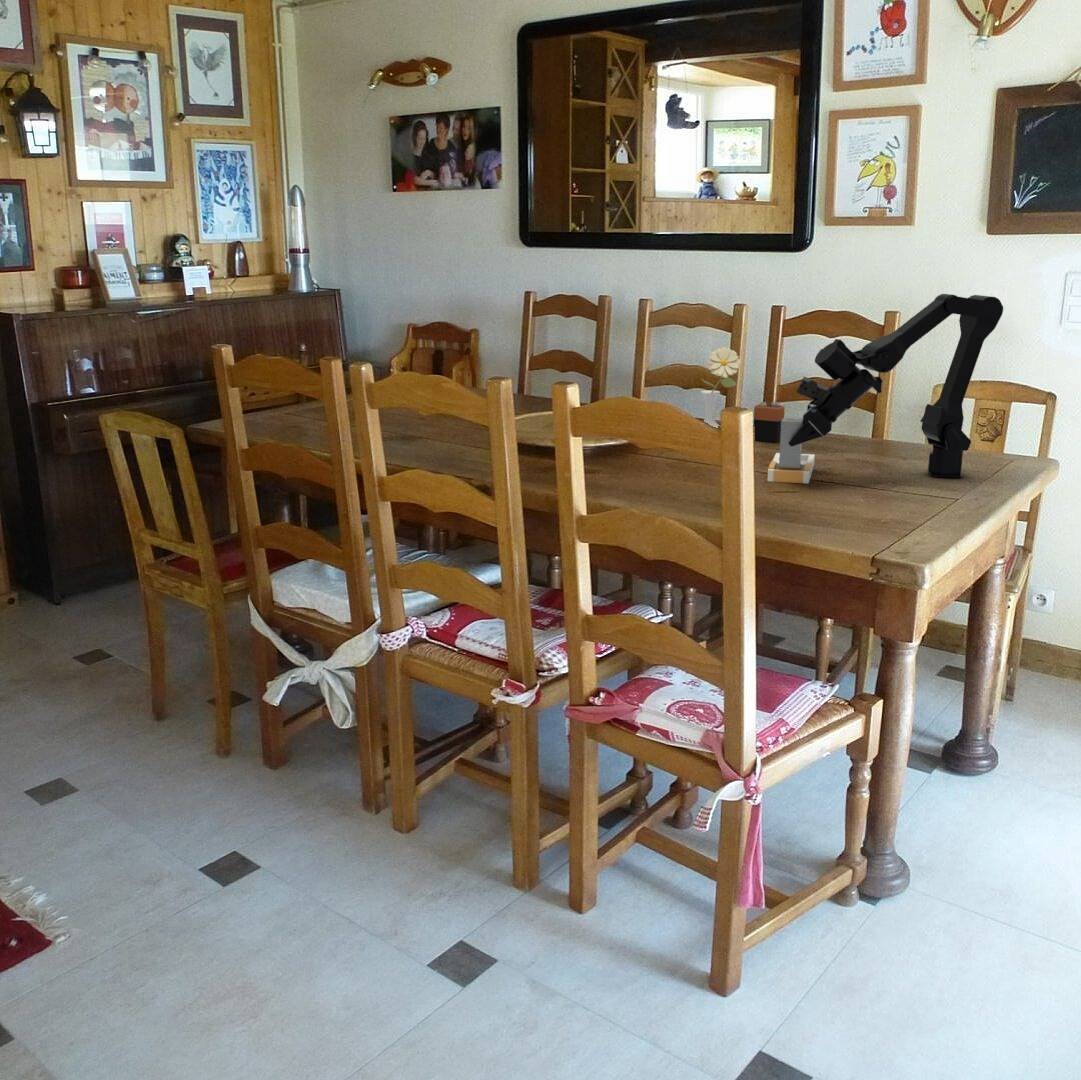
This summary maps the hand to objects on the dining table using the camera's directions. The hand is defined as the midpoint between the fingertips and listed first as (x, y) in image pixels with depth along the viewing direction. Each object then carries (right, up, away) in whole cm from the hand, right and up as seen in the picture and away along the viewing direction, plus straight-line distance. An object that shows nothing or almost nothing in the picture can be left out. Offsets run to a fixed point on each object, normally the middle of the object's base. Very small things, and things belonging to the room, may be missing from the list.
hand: (791, 440), depth 236 cm
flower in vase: (-12, +2, +37) cm, 39 cm away
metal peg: (0, -8, +2) cm, 8 cm away
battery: (+4, +4, +42) cm, 43 cm away
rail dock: (+2, -7, +7) cm, 10 cm away
